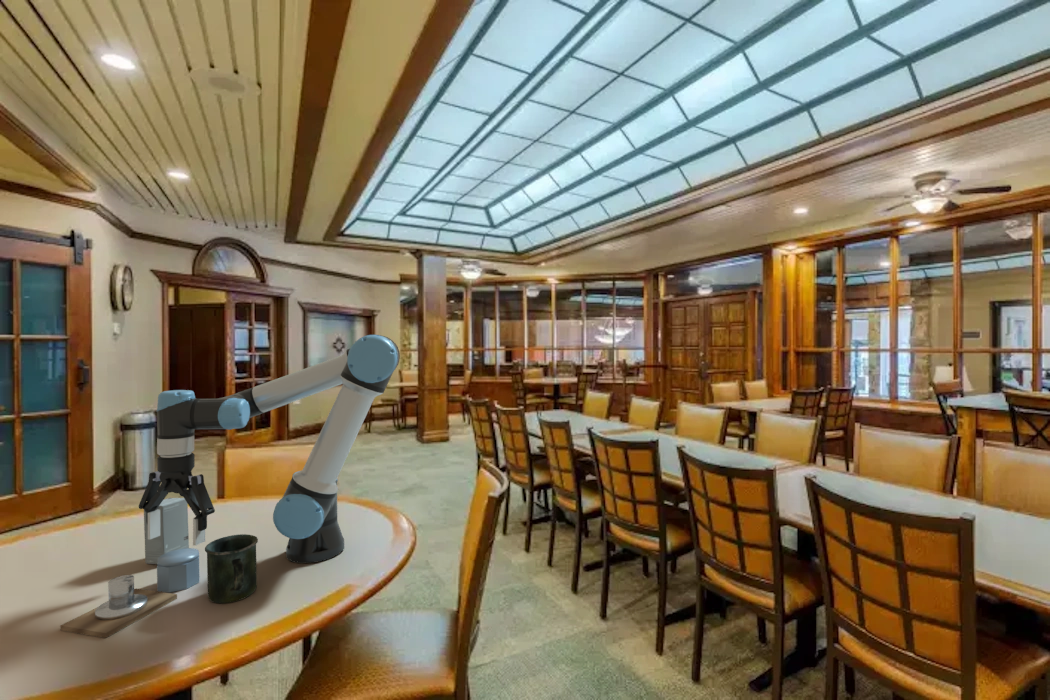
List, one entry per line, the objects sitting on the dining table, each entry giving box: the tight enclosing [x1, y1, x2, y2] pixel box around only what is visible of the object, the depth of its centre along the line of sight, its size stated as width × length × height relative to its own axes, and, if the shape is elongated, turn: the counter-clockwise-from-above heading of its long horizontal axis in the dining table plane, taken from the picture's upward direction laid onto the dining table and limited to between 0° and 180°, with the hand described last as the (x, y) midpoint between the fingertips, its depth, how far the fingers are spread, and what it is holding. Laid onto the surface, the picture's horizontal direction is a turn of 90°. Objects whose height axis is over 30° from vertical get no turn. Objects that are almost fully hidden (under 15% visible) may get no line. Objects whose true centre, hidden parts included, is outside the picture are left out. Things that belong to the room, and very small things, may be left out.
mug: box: [204, 533, 259, 604], centre depth 119 cm, size 11×15×12 cm
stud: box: [95, 574, 147, 620], centre depth 112 cm, size 9×9×6 cm
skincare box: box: [143, 497, 190, 565], centre depth 140 cm, size 8×7×16 cm
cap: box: [156, 547, 201, 593], centre depth 126 cm, size 8×8×7 cm
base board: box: [59, 588, 178, 639], centre depth 112 cm, size 12×16×1 cm
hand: (176, 540), depth 125 cm, fingers open, 13 cm apart
